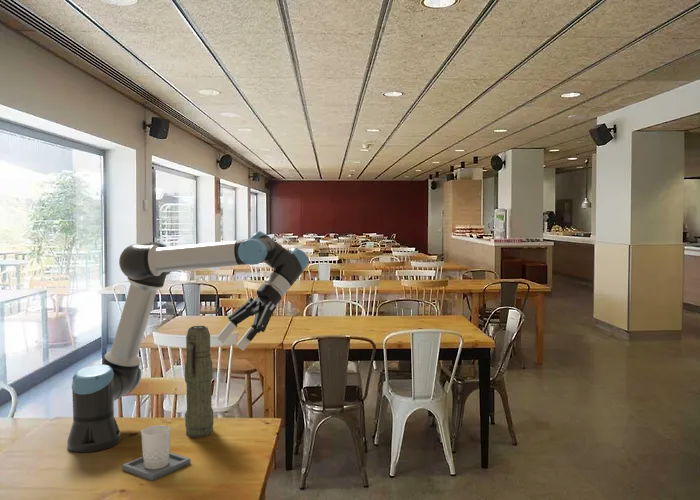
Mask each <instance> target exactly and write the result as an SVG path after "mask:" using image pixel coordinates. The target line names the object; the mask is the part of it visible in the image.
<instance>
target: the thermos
mask: <svg viewBox="0 0 700 500" xmlns="http://www.w3.org/2000/svg"><path fill="white" fill-rule="evenodd" d="M187 329H188V330H187V333H186V337H185V342H186V343H185V345H186V346H185V347H186V349H185V350H186V359H185V362H184V381H185V384H186V411H185V415H184V417H185V418H184V419H185V423H184V424H185V425H184V426H185V429H186V430H185V435H186V436H188V437H190V438H203V437H207V436H210V435H212V434H213V433H214V409H213V407H212V406H213V405H212V381H213V378H214V377H213V360H212V358H211V353H210V352H211V334H210V330H209V328H208V326H206V325H194V326H190V327H189V328H187ZM212 432H213V433H212ZM211 433H212V434H211Z"/></svg>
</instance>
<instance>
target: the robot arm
mask: <svg viewBox="0 0 700 500" xmlns="http://www.w3.org/2000/svg"><path fill="white" fill-rule="evenodd" d="M118 262H119V263H118V264H119V268H120V271H121V272H122V274H124V275H125V277H127V280H128V282H129V283H130V284H129V285H130V286H129V288H128V291H127V295H126V298H125V302H124V305H123V308H122V313H121V316H120V319H119V322H118V326H117V329H116V333H115V337H114V339H113V343H112V346H111V350H109V351H108V352H106V353H105V354H104V357H103V359H102V362H101V363H102V364H93V365H90V366H85V367H82V368H80V369H79V370H77V371H76V372H75V373H73V376H72V383H71V390H72V392H71V393H72V420H73V422H72V424H71V428H70V432H69V435H68V437H67V449H68V450H69V451H71V452H74V453H92V452H93V453H94V452H98V451H99V452H100V451H103V450H106V449H109V448H112V447H114V446H116V445H117V444H119V443H120V442H121V431H120V428H119V426H118V425H119V424H118V423H117V421H116V417H115V412H114V411H115V409H114V407H115V406H114V403H115V402H116V401H117V400H119V399H120V398H123V397H124V396H126V395H128V394H130V393H131V392H133V391H134V389H136V388H137V387H138V385H139V384H140V381H141V379H142V369H141V367H140V365H141V359H140V358H139V357H138V356H139V352H140V349H141V345H142V341H143V339H144V335H145V332H146V329H147V326H148V321H149V318H150V316H151V311H152V308H153V305H154V301H155V299H156V294H157V292H158V290H160V289H162V288H163V287H164V285H165V282H166V278H167V276H168V275H169V274H171V273H172V272H178V271H180V272H181V271H189V270H190V271H191V270H200V269H208V268H209V269H210V268H221V267H234V266H243V265H245V266H246V265H250V266H251V265H252V266H253V265H259V264H261V263H265V264H266V265H268V266H269V267H270V268H272V269H273V270H272V272H271V273H270V274H269V275H268V276H267V278H266V279H265V280H264V283H262V284H261V286H260V287H259V288H258V289H257V290H256V295H257V297H256V298H255V299H254V298H252V297H249V299H248V300H247V301H246V302H245V303H243V304H242V305H241V306H240V307H238V308H237V309H236V310H235V311H234V312H233V313H232V314H231V315H229V316H228V317H227V318H228V320H229V321H228V323H227V324H226V325H225V326H224V328H223V329H222V330H221V331H220V333H219V334H218V335H217V336H216V337H215V338H216V339H218V341H220V342H221V344H224V343H225V342H226V341H227V339H228V338H229V337H230V336H231V334H232V333H233V332H234V331H235V330H236V328H238V324H240V323H242V322H243V321H245V320H246V319H248V318H249V317H251V316H252V317H253V316H254V319H253V323H252V324H251V325H250V327H249V328H248V329H247V330H246V332H245V333H244V334H243V336H242V337H241V338H240V340H239V341H238V342H237V343H236V344H235V345H236V346H237V348H239V349H240V350H241V351H242V352H243V351H245V350H246V348H247V347H248V346H249V344H251V342H252V340H254V338H255V337H256V336H257V334H260V333H264V332H265V331H266V328H267V327H268V324H269V323H270V320H271V317H272V315H273V313H274V312H275V311H276V309H277V305H278V304H279V303H280V301H281V300H282V297H284V296H285V295H286V294H287V293H288V291H289V289H290V288H292V286H293V285H294V284H295V282H296V281H297V280H298V279H299V278H300V277H301V275H302V274H303V273H304V271H305V270H306V268H307V267H308V265H309V264H310V258H309V256H308V255H307V254H306V253H305V252H304V251H303V250H302V249H299V248H297V247H292V248H291V249H289V250H288V249H287V248H285V247H283V246H282V245H281V244H280V243H278V242H277V241H276V240H274V239H273V238H272V237H270V235H268V234H266V233H264V232H263V231H260V230H258V231H257V232H255V233H253V235H252V236H251V237H250V238H247V239H239V240H238V239H237V240H225V241H215V242H205V243H195V244H184V245H175V246H168V245H167V244H165V243H162V242H156V241H150V242H143V243H133V244H131V245H129V246H127V247H125V248H124V250H123V251H121V254H120V256H119V259H118Z"/></svg>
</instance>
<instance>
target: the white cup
mask: <svg viewBox="0 0 700 500" xmlns="http://www.w3.org/2000/svg"><path fill="white" fill-rule="evenodd" d="M171 431H172V429H171V427H170V426H169V425H165V424H157V425H150V426H146V427H145V428H142V430H141V431H140V436H141V437H140V438H141V448H142V449H141V450H142V456H143V459H144V467H145V468H147V469H153V470H154V469H160V468H164V467H166V466H167V465H168V464H169V454H170V452H171Z"/></svg>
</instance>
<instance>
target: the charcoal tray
mask: <svg viewBox="0 0 700 500" xmlns="http://www.w3.org/2000/svg"><path fill="white" fill-rule="evenodd" d="M191 461H192V460H191V458H190V457H186V456H184V455H180V454H178V453H177V454H176V453H174V452H171V451H170V454H169V464H168V465H167V466H166V467H164V468H160V469H154V470H153V469H147V468H145V467H144V459H143V455H142V456H140V457H138V458H135V459H133V460H131V461H128V462H126V463H123V464H121V470H122V471H123V472H127V473H130V474H133V475H135V476H137V477H140V478H143V479H146V480H148V481H151V482H155V481H156V480H159V479H161V478H164V477H165V476H167V475H169V474H172V473H173V472H176V471H178V470H180V469H182V468H184V467H187V466H189V465H191Z"/></svg>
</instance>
